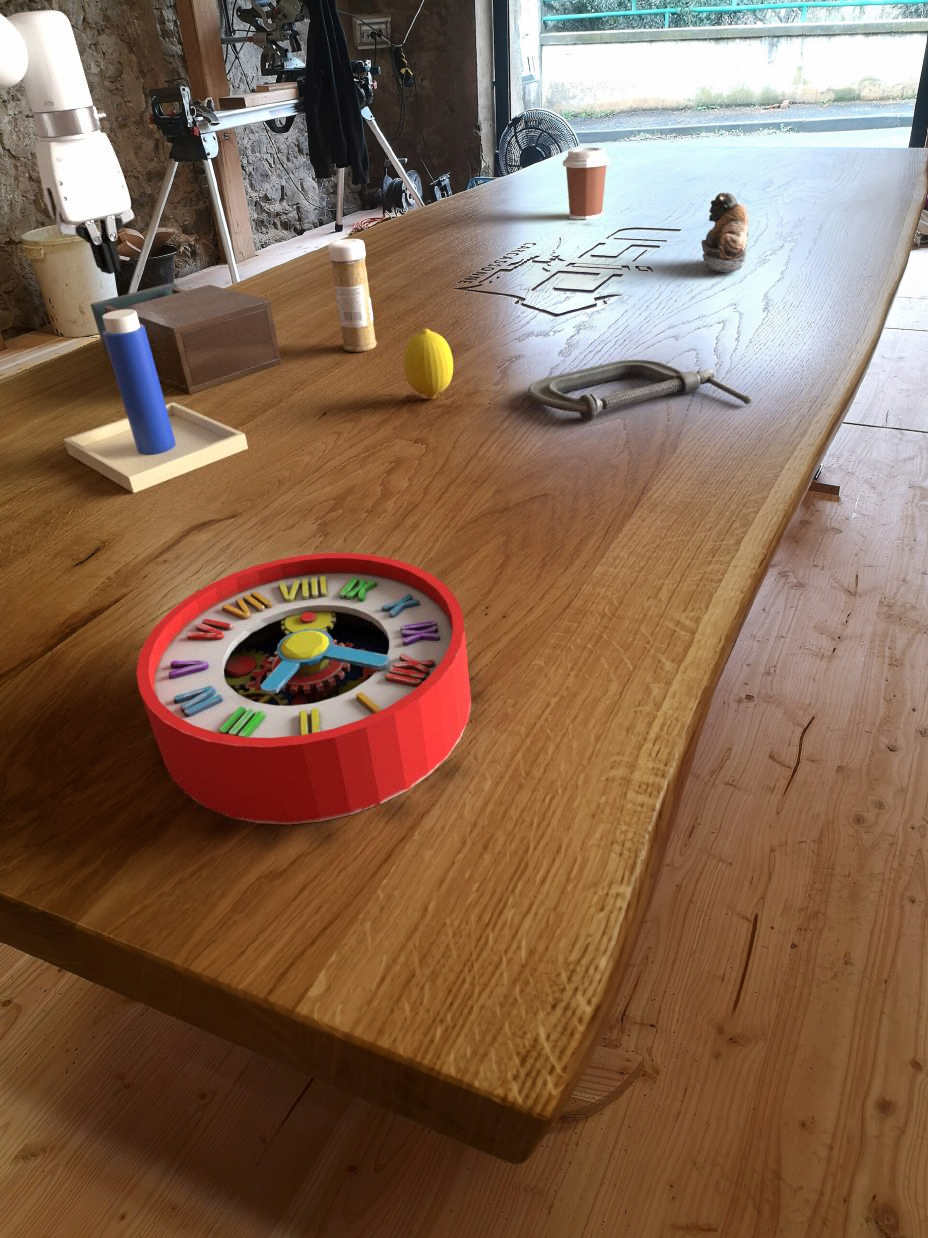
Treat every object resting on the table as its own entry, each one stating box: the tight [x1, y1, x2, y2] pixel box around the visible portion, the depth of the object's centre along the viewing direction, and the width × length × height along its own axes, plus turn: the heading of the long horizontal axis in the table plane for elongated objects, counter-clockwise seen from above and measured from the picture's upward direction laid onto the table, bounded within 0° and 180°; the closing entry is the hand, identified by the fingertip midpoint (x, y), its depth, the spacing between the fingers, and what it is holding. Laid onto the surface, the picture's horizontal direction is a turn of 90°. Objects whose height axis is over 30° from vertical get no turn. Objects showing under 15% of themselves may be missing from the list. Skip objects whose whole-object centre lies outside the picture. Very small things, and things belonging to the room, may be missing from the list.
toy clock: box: [135, 552, 472, 825], centre depth 57 cm, size 20×6×20 cm
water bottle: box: [102, 309, 176, 455], centre depth 92 cm, size 4×4×14 cm
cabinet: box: [117, 284, 282, 395], centre depth 116 cm, size 15×14×8 cm
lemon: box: [403, 328, 454, 400], centre depth 101 cm, size 6×6×8 cm
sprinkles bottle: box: [327, 238, 377, 353], centre depth 117 cm, size 5×5×14 cm
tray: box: [63, 401, 249, 494], centre depth 95 cm, size 15×13×2 cm
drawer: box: [90, 282, 187, 352], centre depth 123 cm, size 18×12×6 cm
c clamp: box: [527, 359, 753, 422], centre depth 98 cm, size 20×17×3 cm
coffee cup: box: [562, 146, 611, 221], centre depth 177 cm, size 9×9×12 cm
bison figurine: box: [701, 191, 749, 273], centre depth 139 cm, size 12×7×10 cm, turn 175°
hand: (110, 271), depth 127 cm, fingers closed
